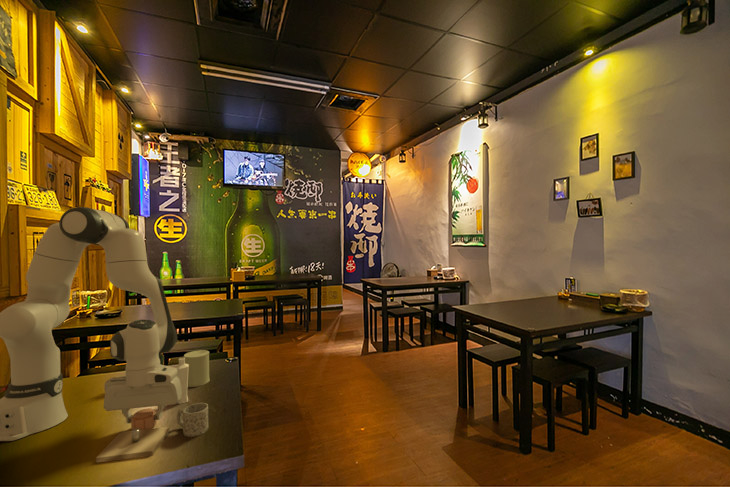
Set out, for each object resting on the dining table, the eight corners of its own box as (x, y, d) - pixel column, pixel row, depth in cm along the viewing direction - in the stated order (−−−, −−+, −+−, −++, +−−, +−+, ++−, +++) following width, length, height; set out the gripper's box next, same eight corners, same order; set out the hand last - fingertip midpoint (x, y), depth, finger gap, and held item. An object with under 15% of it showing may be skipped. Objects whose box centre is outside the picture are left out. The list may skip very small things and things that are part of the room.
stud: (130, 443, 92) (130, 432, 92) (133, 439, 93) (133, 428, 93) (137, 442, 92) (137, 431, 92) (140, 438, 94) (140, 428, 94)
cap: (128, 434, 99) (127, 418, 99) (137, 423, 104) (137, 408, 104) (150, 431, 100) (150, 416, 100) (159, 421, 106) (158, 406, 106)
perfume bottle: (183, 404, 116) (183, 361, 116) (172, 403, 117) (172, 360, 117) (193, 398, 121) (192, 356, 121) (182, 397, 122) (181, 356, 122)
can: (214, 380, 137) (214, 351, 137) (192, 389, 129) (192, 357, 129) (201, 376, 142) (200, 347, 142) (179, 384, 134) (178, 353, 134)
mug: (213, 426, 102) (213, 404, 102) (196, 438, 96) (196, 415, 96) (186, 421, 105) (186, 400, 105) (168, 433, 99) (168, 410, 99)
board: (96, 462, 86) (96, 457, 86) (120, 436, 97) (120, 432, 97) (152, 455, 88) (152, 450, 88) (169, 430, 100) (169, 426, 100)
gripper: (98, 382, 97) (99, 430, 97) (175, 375, 101) (176, 421, 101) (110, 374, 103) (111, 419, 103) (182, 368, 107) (183, 411, 107)
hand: (144, 420), depth 102 cm, fingers closed on cap, 6 cm apart
